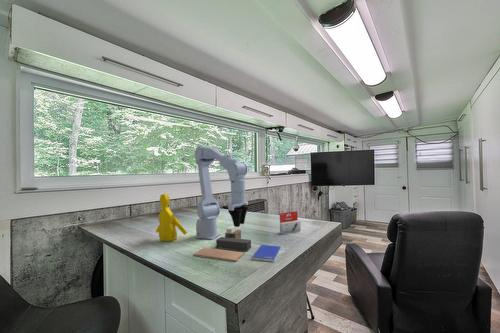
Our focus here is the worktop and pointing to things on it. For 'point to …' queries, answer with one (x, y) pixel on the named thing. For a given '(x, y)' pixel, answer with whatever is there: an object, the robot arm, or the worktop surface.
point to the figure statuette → (167, 221)
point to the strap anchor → (234, 234)
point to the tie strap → (233, 228)
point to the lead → (233, 243)
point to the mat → (219, 254)
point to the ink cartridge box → (289, 223)
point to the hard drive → (266, 253)
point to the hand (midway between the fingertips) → (239, 225)
